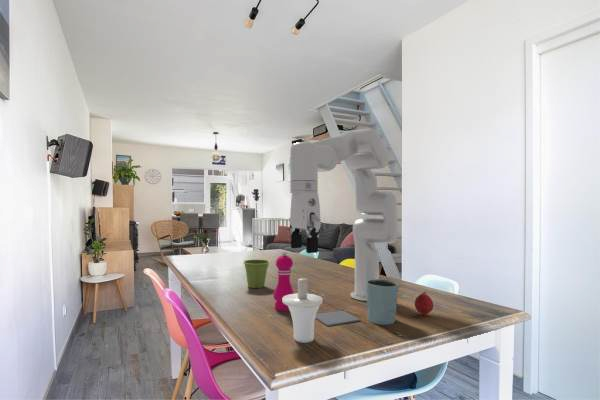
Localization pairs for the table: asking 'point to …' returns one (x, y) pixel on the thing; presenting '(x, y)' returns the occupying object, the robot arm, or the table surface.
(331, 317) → the mat
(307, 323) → the cup
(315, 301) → the lid
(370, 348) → the table surface
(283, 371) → the table surface
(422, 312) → the onion
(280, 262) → the pepper mill
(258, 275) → the plant pot
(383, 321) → the blue round container
